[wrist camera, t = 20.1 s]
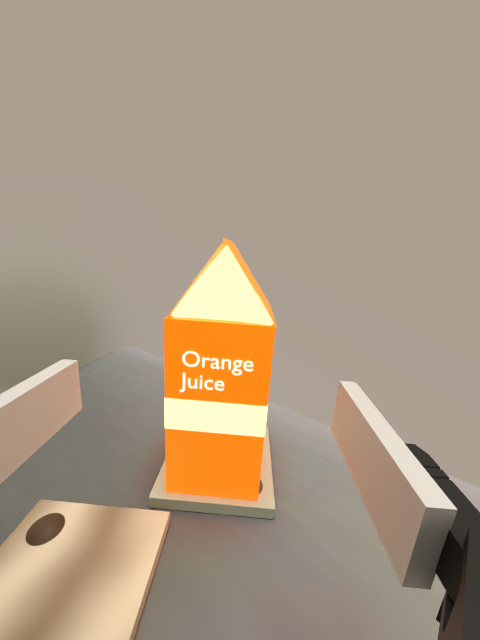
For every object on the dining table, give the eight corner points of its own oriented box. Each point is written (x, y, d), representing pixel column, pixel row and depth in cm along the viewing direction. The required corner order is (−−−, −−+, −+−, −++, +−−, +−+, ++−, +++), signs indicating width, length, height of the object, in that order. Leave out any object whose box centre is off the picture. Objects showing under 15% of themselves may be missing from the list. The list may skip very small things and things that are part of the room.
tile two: (149, 507, 21) (148, 497, 21) (181, 427, 31) (181, 419, 31) (273, 519, 21) (275, 508, 21) (267, 434, 31) (267, 426, 30)
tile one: (-149, 743, 11) (-157, 727, 10) (42, 509, 20) (40, 499, 20) (93, 773, 10) (91, 757, 10) (169, 522, 20) (169, 511, 20)
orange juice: (163, 492, 21) (160, 233, 16) (189, 423, 30) (192, 240, 25) (260, 501, 21) (287, 241, 16) (258, 429, 30) (275, 245, 25)
